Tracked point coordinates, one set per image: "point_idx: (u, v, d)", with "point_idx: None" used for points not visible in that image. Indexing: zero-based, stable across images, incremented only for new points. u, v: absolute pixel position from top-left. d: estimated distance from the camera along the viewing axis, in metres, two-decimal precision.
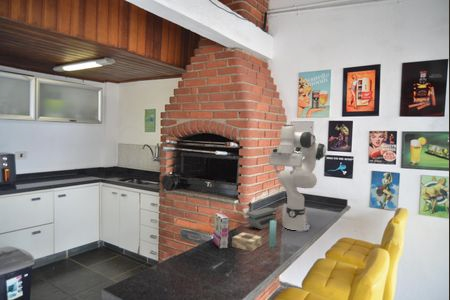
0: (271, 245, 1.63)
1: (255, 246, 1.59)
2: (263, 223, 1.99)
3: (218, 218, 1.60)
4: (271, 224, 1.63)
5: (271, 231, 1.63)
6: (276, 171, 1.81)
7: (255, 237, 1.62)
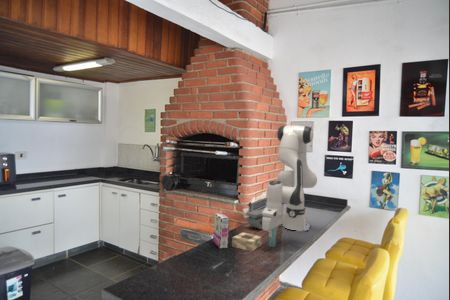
0: (271, 245, 1.63)
1: (255, 246, 1.59)
2: None
3: (218, 218, 1.60)
4: None
5: None
6: (272, 235, 1.62)
7: (255, 237, 1.62)
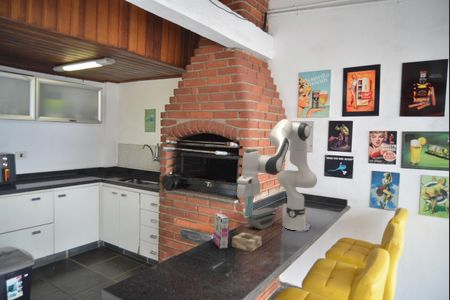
0: (247, 214, 1.61)
1: (255, 246, 1.59)
2: (263, 223, 1.99)
3: (218, 218, 1.60)
4: None
5: None
6: (248, 203, 1.60)
7: (255, 237, 1.62)
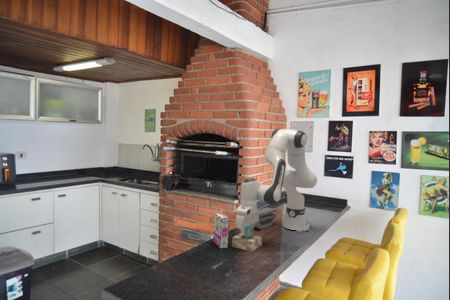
0: None
1: (255, 246, 1.59)
2: (263, 223, 1.99)
3: (218, 218, 1.60)
4: None
5: (246, 231, 1.61)
6: (244, 234, 1.58)
7: (255, 237, 1.62)
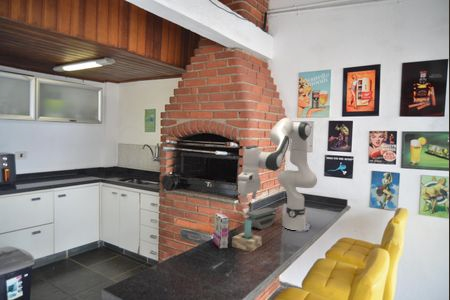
0: None
1: (255, 246, 1.59)
2: (263, 223, 1.99)
3: (218, 218, 1.60)
4: (246, 224, 1.61)
5: (246, 231, 1.61)
6: (246, 200, 1.59)
7: (255, 237, 1.62)
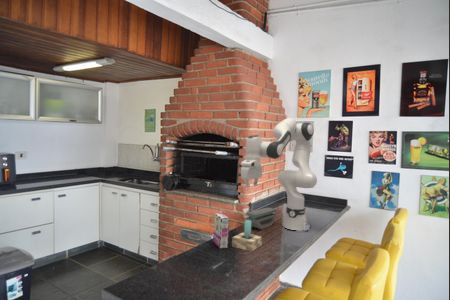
0: None
1: (255, 246, 1.59)
2: (263, 223, 1.99)
3: (218, 218, 1.60)
4: (246, 224, 1.61)
5: (246, 231, 1.61)
6: (249, 185, 1.70)
7: (255, 237, 1.62)
